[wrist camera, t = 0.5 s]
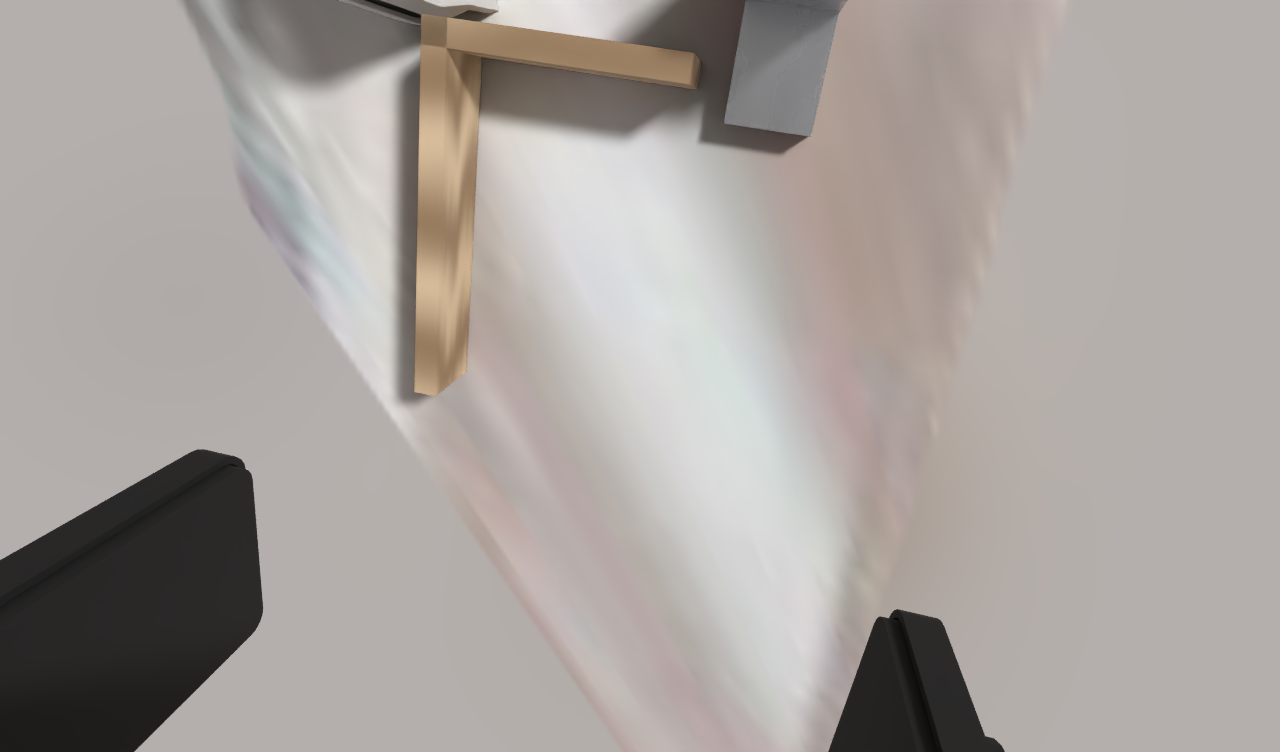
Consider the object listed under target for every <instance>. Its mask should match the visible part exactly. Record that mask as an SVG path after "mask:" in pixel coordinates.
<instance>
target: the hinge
mask: <svg viewBox="0 0 1280 752" xmlns="http://www.w3.org/2000/svg"><path fill="white" fill-rule="evenodd" d="M338 1H341V2H344V3H347V4H350V5H353V6H356V7H359V8H362V9H365V10H368V11H371V12H374V13H377V14H380V15H383V16H386V17H389V18H392V19H395V20H398V21H401V22H405V23H410V24H416V25H421V14H427V15H434V16H441V17H448V18H453V17H455V16H457V15H459V14H461V13H463V12H465V11H468V10H473V11H478V12H484V13H489V14H490V13H493V12H496V11H498V1H497V0H338Z"/></svg>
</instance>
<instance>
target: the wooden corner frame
mask: <svg viewBox="0 0 1280 752" xmlns="http://www.w3.org/2000/svg"><path fill="white" fill-rule="evenodd" d="M482 58H489V59H495V60H502V61H509V62H516V63H522V64H529V65H536V66H542V67H549V68H556V69H562V70H569V71H576V72H582V73H589V74H596V75H602V76H609V77H616V78H623V79H629V80H636V81H643V82H649V83H656V84H663V85H669V86H676V87H683V88H689V89H696V90H697V88H698V82H699V76H700V69H701V63H702V62H701V61H700V60H699V58H698V57H697V56H696V55H695V54H694V53H692V52H685V51H678V50H671V49H664V48H657V47H650V46H643V45H636V44H629V43H622V42H615V41H608V40H601V39H594V38H587V37H580V36H573V35H567V34H560V33H553V32H546V31H539V30H532V29H525V28H518V27H511V26H504V25H497V24H490V23H483V22H476V21H469V20H462V19H455V18H448V17H441V16H434V15H427V14H421V55H420V110H419V165H418V221H417V276H416V331H415V386H414V392H417V393H422V394H427V395H432V396H437V395H438V394H439V393H440V392H441V391H443V390H444V389H445V388H446V387H448V386H449V385H450V384H451V383H452V382H454V381H455V380H456V379H457V378H459V377H460V376H461V375H462V374H463V373H465V372H466V370H467V350H468V330H469V310H470V289H471V269H472V249H473V229H474V208H475V188H476V168H477V147H478V127H479V107H480V87H481V66H482Z"/></svg>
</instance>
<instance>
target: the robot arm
mask: <svg viewBox="0 0 1280 752" xmlns="http://www.w3.org/2000/svg"><path fill="white" fill-rule="evenodd" d="M255 516H256V515H255V504H254V492H253V479H252V475H251V473H250V472H249V471H248V470H246V469H245V465H244V463H243V461H242V460H241V459H239V458H237V457H235V456H230V455H225V454H222V453H217V452H213V451H208V450H195V451H193V452H190V453H188V454H187V455H185V456H183V457H182V458H180V459H178V460H176V461H174V462H173V463H171V464H169V465H167V466H166V467H164V468H162V469H160V470H159V471H157V472H155V473H153V474H151V475H150V476H148V477H146V478H144V479H143V480H141V481H139V482H137V483H136V484H134V485H132V486H130V487H129V488H127V489H125V490H123V491H122V492H120V493H118V494H116V495H115V496H113V497H111V498H109V499H107V500H106V501H104V502H102V503H100V504H99V505H97V506H95V507H93V508H91V509H90V510H88V511H86V512H85V513H83V514H81V515H79V516H77V517H76V518H74V519H72V520H70V521H69V522H67V523H65V524H63V525H62V526H60V527H58V528H56V529H55V530H53V531H51V532H49V533H47V534H46V535H44V536H42V537H40V538H39V539H37V540H35V541H33V542H32V543H30V544H28V545H26V546H25V547H23V548H21V549H19V550H17V551H16V552H14V553H12V554H10V555H9V556H7V557H5V558H3V559H2V560H0V752H134V751H135V750H136V749H137V748H138V747H139V746H140V745H141V744H142V743H143V742H144V741H145V740H146V739H147V738H148V737H149V736H150V735H151V734H152V733H153V732H154V731H155V730H156V729H157V728H158V727H159V726H160V725H161V724H162V723H163V722H164V721H165V720H166V719H167V718H168V717H169V716H170V715H171V714H172V713H173V712H174V711H175V710H176V709H177V708H178V707H179V706H181V704H182V703H183V702H184V701H186V700H187V698H189V697H190V696H191V695H192V694H193V693H194V692H195V691H196V689H198V688H199V687H200V686H201V684H203V683H204V682H205V681H206V680H207V679H208V678H209V677H210V676H211V675H212V674H213V673H214V672H215V671H216V670H217V669H218V668H219V667H220V666H221V665H222V664H223V663H224V662H225V661H226V660H227V659H228V658H229V657H230V656H231V655H232V654H233V653H234V652H235V651H236V650H237V649H238V648H239V647H240V646H241V645H242V644H243V643H244V642H245V641H246V640H247V639H248V638H249V637H250V636H251V635H252V633H253V632H254V631H255V630H256V628H257V626H258V624H259V622H260V620H261V617H262V613H263V602H262V590H261V577H260V565H259V552H258V540H257V528H256V517H255ZM828 752H1004V749H1003V748H1002V746H1001V745H1000V744H999V743H998V742H997V741H996V740H995V739H994V738H990V737H985V735H984V732H983V730H982V727H981V724H980V721H979V719H978V716H977V714H976V711H975V708H974V705H973V703H972V700H971V697H970V695H969V692H968V689H967V686H966V684H965V681H964V679H963V676H962V673H961V670H960V668H959V665H958V662H957V660H956V657H955V654H954V652H953V649H952V646H951V644H950V641H949V638H948V636H947V633H946V630H945V627H944V625H943V623H942V622H941V621H940V620H939V619H937V618H933V617H928V616H924V615H920V614H916V613H911V612H907V611H903V610H898V609H897V610H894V611H893V613H892V614H891V615H890V617H889V618H885V617H878V618H877V619H876V621H875V623H874V626H873V628H872V631H871V634H870V637H869V640H868V642H867V645H866V648H865V651H864V654H863V656H862V659H861V662H860V665H859V668H858V670H857V673H856V676H855V679H854V682H853V684H852V687H851V690H850V693H849V696H848V698H847V701H846V704H845V707H844V709H843V712H842V715H841V718H840V721H839V723H838V726H837V729H836V732H835V735H834V737H833V740H832V743H831V746H830V749H829V751H828Z"/></svg>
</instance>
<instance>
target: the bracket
mask: <svg viewBox="0 0 1280 752" xmlns="http://www.w3.org/2000/svg"><path fill="white" fill-rule="evenodd" d="M846 2H847V0H745V7H744V12H743V18H742V24H741V29H740V35H739V40H738V46H737V52H736V57H735V63H734V69H733V74H732V80H731V85H730V91H729V97H728V102H727V108H726V113H725V119H724V124H731V125H737V126H744V127H750V128H756V129H763V130H769V131H776V132H782V133H789V134H795V135H802V136H808V137H811V133H812V129H813V125H814V120H815V116H816V111H817V107H818V102H819V98H820V93H821V89H822V85H823V80H824V76H825V71H826V67H827V62H828V58H829V54H830V49H831V45H832V40H833V36H834V31H835V27H836V22H837V18H838V14H839V12H840V11H841V9H842V8H843V6H844V5H845V3H846Z"/></svg>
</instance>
